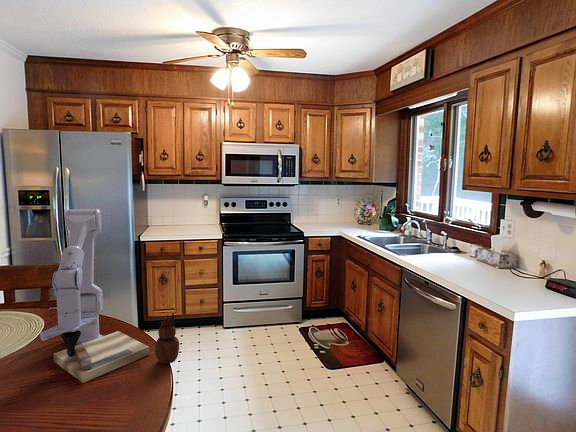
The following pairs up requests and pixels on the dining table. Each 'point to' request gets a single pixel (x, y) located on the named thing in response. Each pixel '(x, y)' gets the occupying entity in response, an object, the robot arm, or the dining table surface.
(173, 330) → the wooden figurine
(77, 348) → the walnut leg
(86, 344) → the maple seat
